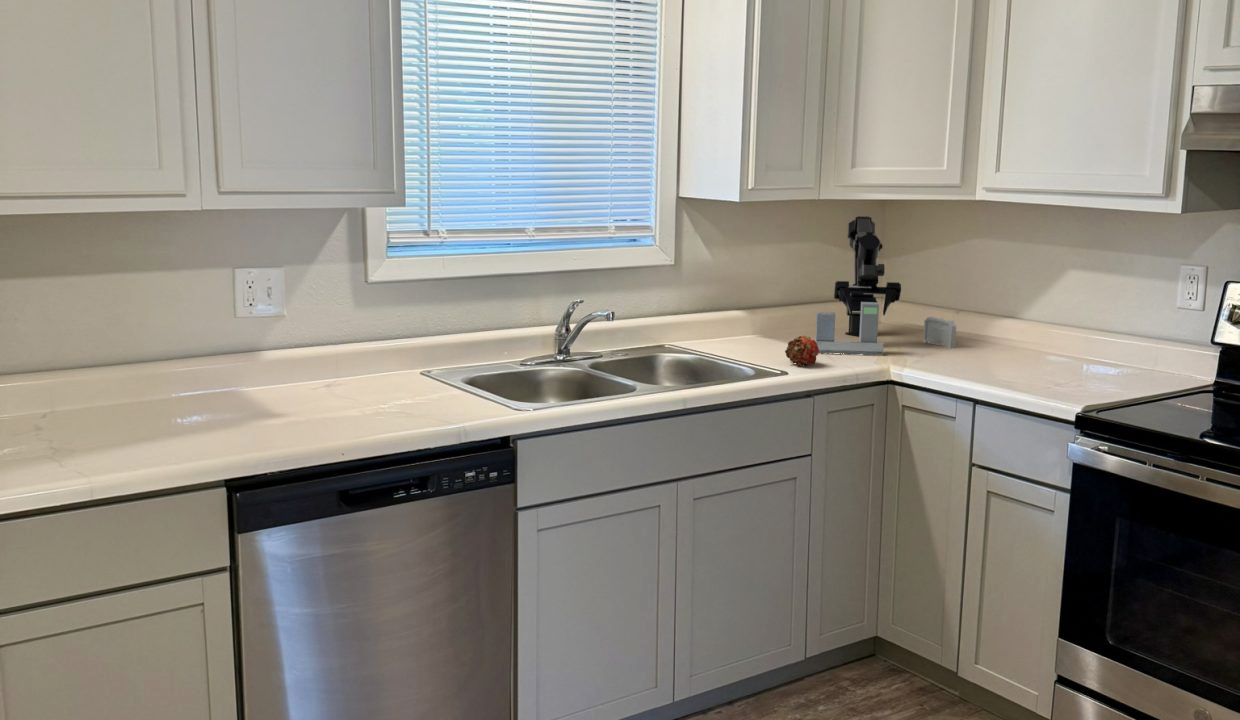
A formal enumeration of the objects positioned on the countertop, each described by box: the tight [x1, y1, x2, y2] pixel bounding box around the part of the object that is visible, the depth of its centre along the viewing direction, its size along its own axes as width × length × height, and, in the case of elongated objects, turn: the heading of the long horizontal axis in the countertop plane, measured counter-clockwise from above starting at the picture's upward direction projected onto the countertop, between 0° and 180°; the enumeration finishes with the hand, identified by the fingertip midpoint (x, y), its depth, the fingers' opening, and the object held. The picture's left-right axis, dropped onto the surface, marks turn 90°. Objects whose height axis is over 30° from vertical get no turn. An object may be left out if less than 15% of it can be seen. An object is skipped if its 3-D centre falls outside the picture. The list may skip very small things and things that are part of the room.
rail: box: [815, 311, 884, 356], centre depth 312 cm, size 18×7×11 cm, turn 82°
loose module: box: [858, 301, 880, 343], centre depth 311 cm, size 5×4×13 cm
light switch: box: [922, 316, 957, 349], centre depth 327 cm, size 2×12×8 cm, turn 25°
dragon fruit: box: [784, 335, 819, 366], centre depth 294 cm, size 8×8×12 cm
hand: (867, 314), depth 316 cm, fingers open, 9 cm apart
